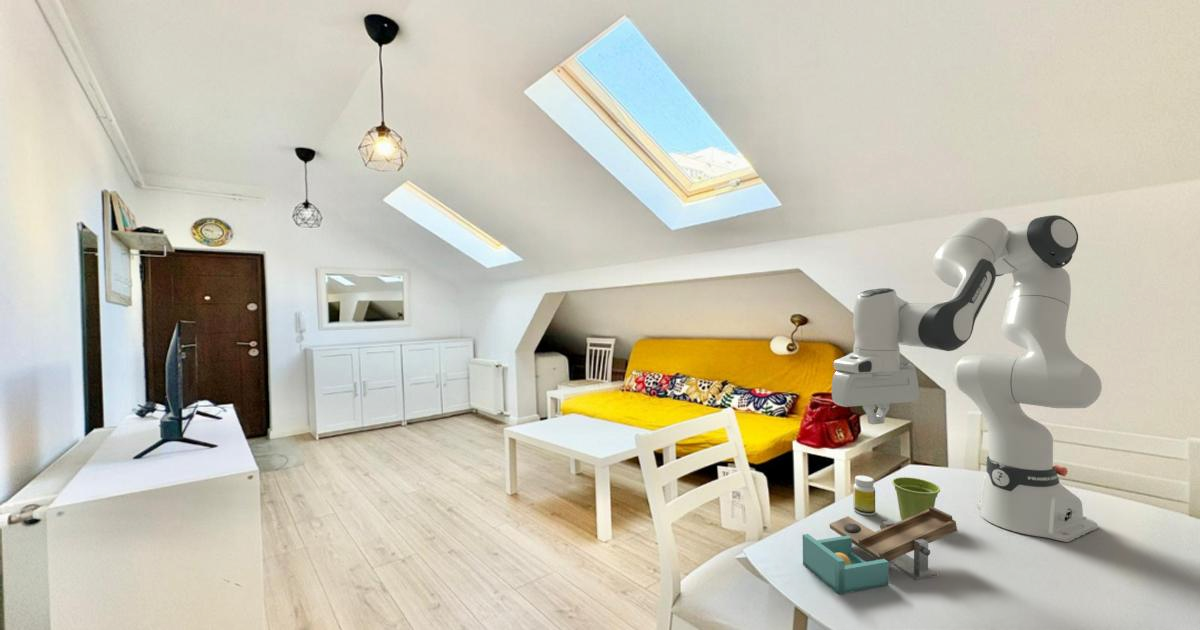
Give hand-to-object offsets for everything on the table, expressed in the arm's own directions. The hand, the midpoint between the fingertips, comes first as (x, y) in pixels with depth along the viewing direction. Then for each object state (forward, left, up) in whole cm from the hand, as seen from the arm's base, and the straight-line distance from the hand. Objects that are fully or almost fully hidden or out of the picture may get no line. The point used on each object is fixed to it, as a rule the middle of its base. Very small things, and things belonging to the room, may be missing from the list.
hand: (876, 423), depth 104 cm
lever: (+3, +7, -20) cm, 22 cm away
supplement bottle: (-6, -10, -25) cm, 28 cm away
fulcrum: (+4, +11, -25) cm, 28 cm away
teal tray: (+18, +11, -25) cm, 33 cm away
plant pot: (-14, -3, -25) cm, 29 cm away
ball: (+19, +11, -23) cm, 31 cm away
